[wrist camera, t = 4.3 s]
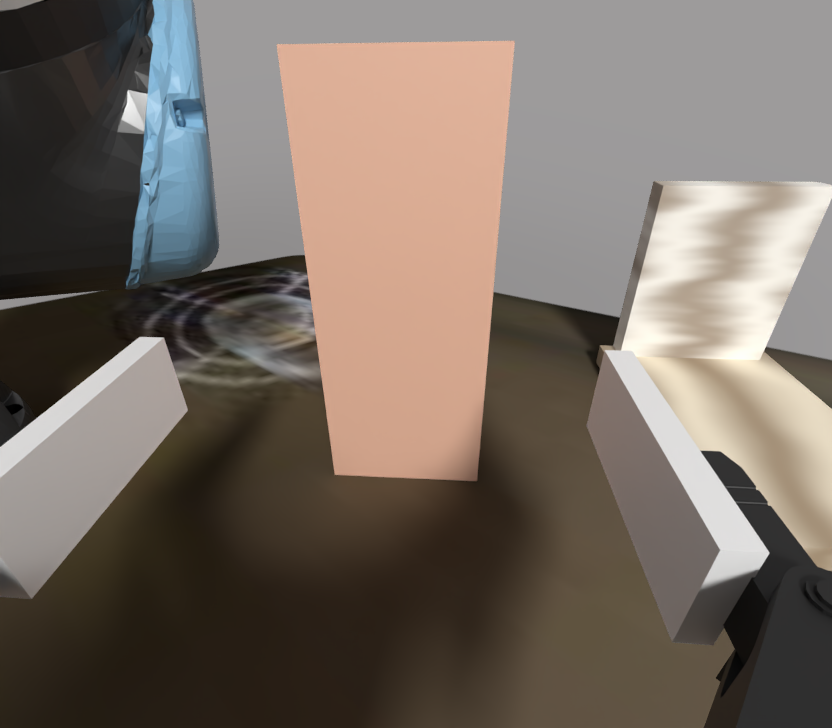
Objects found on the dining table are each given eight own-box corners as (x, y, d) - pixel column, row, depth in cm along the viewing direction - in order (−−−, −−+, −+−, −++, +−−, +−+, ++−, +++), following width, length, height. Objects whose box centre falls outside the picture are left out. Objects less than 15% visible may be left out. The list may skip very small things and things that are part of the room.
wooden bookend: (701, 563, 21) (842, 283, 14) (596, 361, 36) (637, 181, 29) (984, 579, 20) (1283, 291, 13) (753, 366, 35) (835, 182, 28)
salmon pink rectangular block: (334, 474, 26) (276, 44, 16) (351, 419, 30) (314, 53, 20) (476, 481, 25) (514, 41, 15) (473, 424, 30) (501, 51, 19)
